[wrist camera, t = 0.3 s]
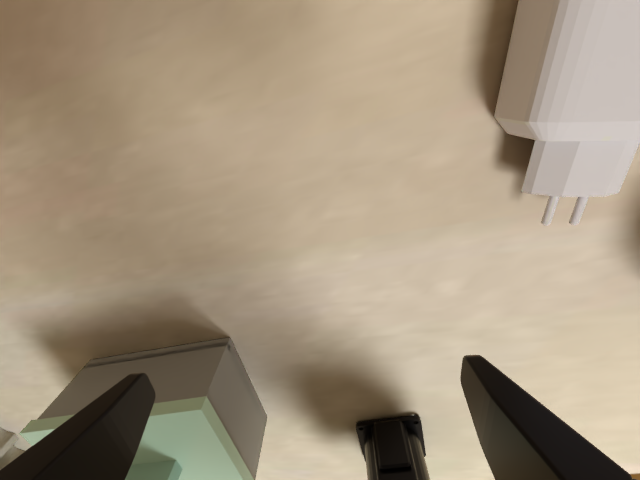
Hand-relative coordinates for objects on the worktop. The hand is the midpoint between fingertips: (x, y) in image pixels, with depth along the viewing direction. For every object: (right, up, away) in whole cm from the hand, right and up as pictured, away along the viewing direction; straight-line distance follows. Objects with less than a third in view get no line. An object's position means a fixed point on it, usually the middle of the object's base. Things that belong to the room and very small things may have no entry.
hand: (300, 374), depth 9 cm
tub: (-13, -11, +22) cm, 27 cm away
